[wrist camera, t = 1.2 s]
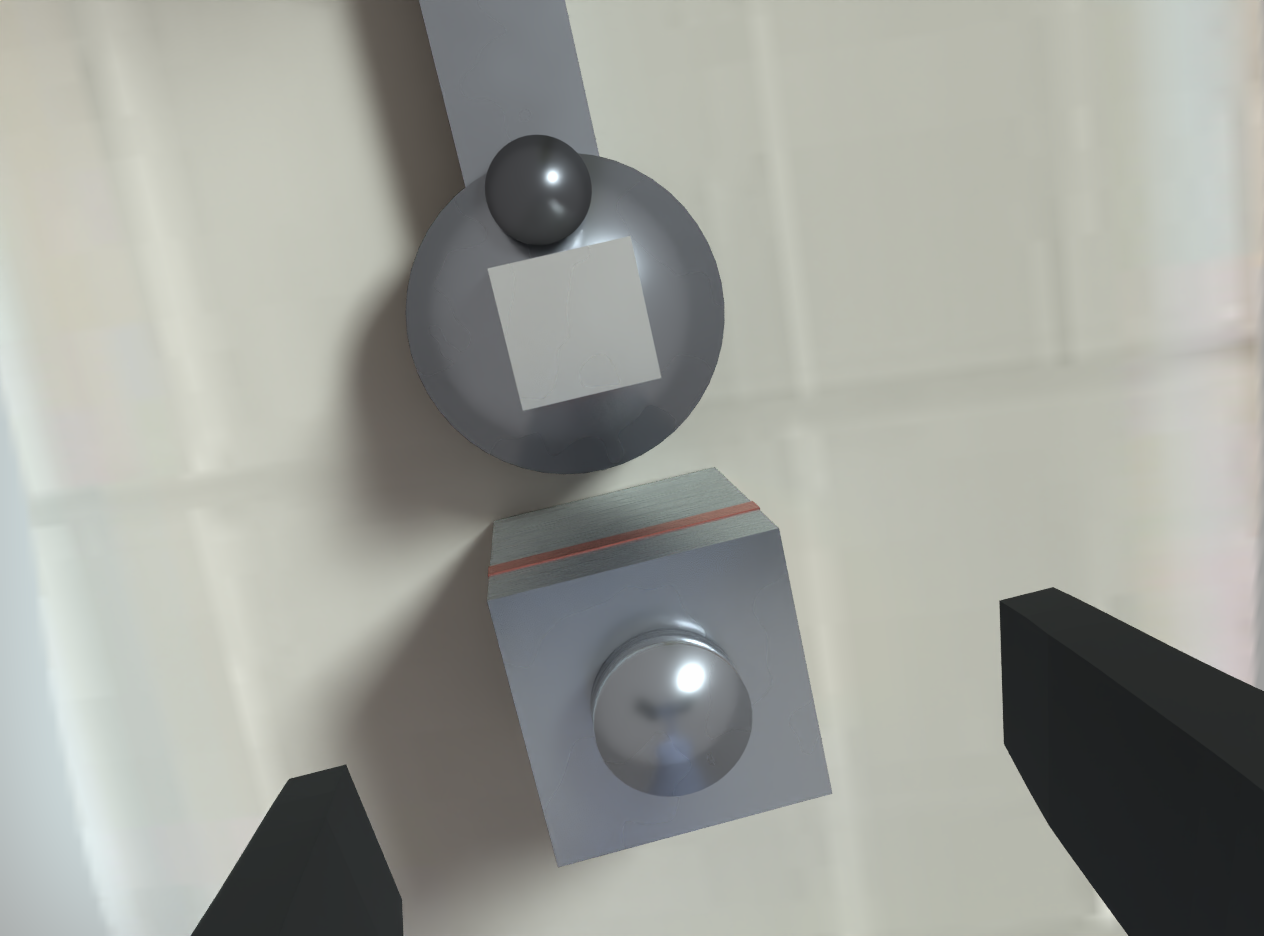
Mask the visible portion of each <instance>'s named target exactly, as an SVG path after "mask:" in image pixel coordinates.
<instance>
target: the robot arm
mask: <svg viewBox="0 0 1264 936" xmlns="http://www.w3.org/2000/svg"><path fill="white" fill-rule="evenodd" d="M1000 631H1001V664H1002V696H1003V729H1004V745H1005V747H1006V748H1007V750H1008V752H1009V754H1010V756H1011V758H1012V760H1013V762H1014V763H1015V765H1016V767H1017V769H1018V771H1019V773H1020V775H1021V776H1022V778H1023V780H1024V782H1025V784H1026V786H1027V788H1028V789H1029V791H1030V793H1031V795H1032V796H1033V798H1034V800H1035V802H1036V804H1037V805H1038V807H1039V809H1040V811H1041V812H1042V814H1043V816H1044V818H1045V819H1046V821H1047V823H1048V825H1049V826H1050V828H1051V829H1052V830H1053V832H1054V833H1055V835H1056V836H1057V837H1058V839H1059V840H1060V842H1061V843H1062V845H1063V846H1064V847H1065V849H1066V850H1067V852H1068V853H1069V854H1070V856H1071V857H1072V859H1073V860H1074V861H1075V863H1076V864H1077V865H1078V867H1079V868H1080V870H1081V871H1082V872H1083V874H1084V875H1085V877H1086V878H1087V879H1088V881H1089V882H1090V884H1091V885H1092V886H1093V888H1094V889H1095V890H1096V892H1097V893H1098V895H1099V896H1100V897H1101V899H1102V900H1103V901H1104V903H1105V904H1106V906H1107V907H1108V908H1109V910H1110V911H1111V912H1112V914H1113V915H1114V916H1115V918H1116V919H1117V921H1118V922H1119V923H1120V925H1121V926H1122V927H1123V929H1124V930H1125V932H1126V933H1127V934H1128V936H1264V691H1262V690H1260V689H1258V688H1255V687H1253V686H1251V685H1249V684H1247V683H1245V682H1243V681H1241V680H1239V679H1236V678H1234V677H1232V676H1230V675H1228V674H1226V673H1224V672H1222V671H1220V670H1218V669H1216V668H1214V667H1212V666H1210V665H1208V664H1205V663H1203V662H1201V661H1199V660H1197V659H1195V658H1193V657H1191V656H1189V655H1187V654H1185V653H1183V652H1181V651H1179V650H1177V649H1175V648H1173V647H1171V646H1169V645H1167V644H1165V643H1163V642H1162V641H1160V640H1158V639H1156V638H1154V637H1152V636H1150V635H1148V634H1146V633H1144V632H1142V631H1140V630H1138V629H1136V628H1134V627H1132V626H1130V625H1128V624H1126V623H1124V622H1122V621H1120V620H1118V619H1116V618H1115V617H1113V616H1111V615H1109V614H1107V613H1105V612H1103V611H1101V610H1099V609H1097V608H1095V607H1093V606H1091V605H1089V604H1087V603H1085V602H1083V601H1081V600H1079V599H1077V598H1075V597H1073V596H1071V595H1069V594H1066V593H1064V592H1062V591H1060V590H1058V589H1056V588H1053V587H1052V588H1048V589H1044V590H1040V591H1036V592H1032V593H1028V594H1024V595H1020V596H1016V597H1012V598H1008V599H1004V600H1000ZM191 936H403V916H402V898H401V896H400V894H399V891H398V889H397V886H396V884H395V882H394V879H393V877H392V874H391V872H390V870H389V867H388V865H387V862H386V860H385V858H384V855H383V853H382V850H381V848H380V845H379V843H378V841H377V838H376V836H375V833H374V831H373V829H372V826H371V824H370V821H369V819H368V817H367V814H366V812H365V809H364V807H363V805H362V802H361V800H360V797H359V795H358V793H357V790H356V788H355V785H354V783H353V780H352V778H351V776H350V773H349V771H348V768H347V766H346V765H343V766H339V767H335V768H331V769H327V770H323V771H319V772H315V773H311V774H307V775H303V776H299V777H295V778H291V779H289V780H288V781H287V783H286V784H285V786H284V787H283V789H282V790H281V792H280V794H279V795H278V797H277V798H276V800H275V801H274V803H273V804H272V806H271V808H270V809H269V811H268V812H267V814H266V816H265V817H264V819H263V821H262V822H261V824H260V826H259V827H258V829H257V830H256V832H255V834H254V835H253V837H252V839H251V840H250V842H249V844H248V845H247V847H246V849H245V850H244V852H243V853H242V855H241V857H240V858H239V860H238V862H237V863H236V865H235V866H234V868H233V870H232V871H231V873H230V875H229V876H228V878H227V879H226V881H225V883H224V884H223V886H222V888H221V889H220V891H219V892H218V894H217V896H216V897H215V899H214V900H213V902H212V903H211V905H210V906H209V908H208V910H207V911H206V913H205V914H204V916H203V917H202V919H201V920H200V922H199V924H198V925H197V927H196V928H195V930H194V931H193V933H192V934H191Z"/></svg>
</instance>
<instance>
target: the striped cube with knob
mask: <svg viewBox="0 0 1264 936" xmlns="http://www.w3.org/2000/svg"><path fill="white" fill-rule="evenodd" d="M488 577H489V585H488V597H487V603H488V606H489V610H490V614H491V618H492V621H493V625H494V629H495V633H496V636H497V640H498V644H499V648H500V651H501V655H502V659H503V663H504V666H505V670H506V674H507V678H508V681H509V685H510V689H511V693H512V696H513V700H514V704H515V708H516V711H517V715H518V719H519V723H520V726H521V730H522V734H523V738H524V741H525V745H526V749H527V753H528V756H529V760H530V764H531V768H532V771H533V775H534V779H535V783H536V786H537V790H538V794H539V798H540V802H541V805H542V809H543V813H544V817H545V820H546V824H547V828H548V832H549V835H550V839H551V843H552V847H553V850H554V854H555V858H556V862H557V865H558V867H561V866H565V865H568V864H572V863H576V862H579V861H583V860H587V859H591V858H594V857H598V856H602V855H606V854H609V853H613V852H617V851H620V850H624V849H628V848H632V847H635V846H639V845H643V844H646V843H650V842H654V841H658V840H661V839H665V838H669V837H672V836H676V835H680V834H684V833H687V832H691V831H695V830H699V829H702V828H706V827H710V826H713V825H717V824H721V823H725V822H728V821H732V820H736V819H739V818H743V817H747V816H751V815H754V814H758V813H762V812H765V811H769V810H773V809H777V808H780V807H784V806H788V805H792V804H795V803H799V802H803V801H806V800H810V799H814V798H818V797H821V796H825V795H829V794H832V790H831V785H830V780H829V775H828V770H827V765H826V760H825V755H824V750H823V745H822V740H821V735H820V730H819V725H818V720H817V715H816V710H815V705H814V700H813V695H812V690H811V685H810V680H809V675H808V670H807V665H806V660H805V655H804V650H803V645H802V640H801V635H800V630H799V626H798V621H797V616H796V611H795V606H794V601H793V596H792V591H791V586H790V581H789V576H788V571H787V566H786V561H785V556H784V551H783V546H782V541H781V536H780V531H779V528H778V527H777V526H776V525H775V524H774V523H773V522H772V521H771V520H770V519H769V518H768V517H767V516H766V515H765V514H764V513H763V512H761V511H760V507H759V506H758V505H757V504H755V503H754V502H753V501H750V500H749V499H748V498H747V497H746V496H745V495H744V494H743V493H742V492H740V491H739V490H738V489H737V488H736V487H735V486H734V485H733V484H732V483H731V482H730V481H729V480H728V479H727V478H726V477H725V476H724V475H723V474H722V473H721V472H720V471H718V470H717V469H716V468H715V467H713V468H709V469H705V470H701V471H697V472H693V473H689V474H685V475H681V476H676V477H672V478H668V479H664V480H660V481H656V482H652V483H648V484H644V485H640V486H636V487H632V488H627V489H623V490H619V491H615V492H611V493H607V494H603V495H599V496H595V497H591V498H587V499H583V500H578V501H574V502H570V503H566V504H562V505H558V506H554V507H550V508H546V509H542V510H538V511H534V512H529V513H525V514H521V515H517V516H513V517H509V518H505V519H501V520H497V521H494V527H493V539H492V550H491V562H490V566H489V567H488Z"/></svg>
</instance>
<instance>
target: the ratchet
mask: <svg viewBox="0 0 1264 936" xmlns="http://www.w3.org/2000/svg"><path fill="white" fill-rule="evenodd" d="M419 3H420V7H421V11H422V15H423V19H424V23H425V27H426V31H427V35H428V39H429V43H430V47H431V51H432V55H433V59H434V63H435V67H436V71H437V75H438V79H439V83H440V87H441V91H442V95H443V99H444V103H445V107H446V111H447V115H448V119H449V123H450V127H451V131H452V135H453V139H454V143H455V147H456V151H457V155H458V159H459V163H460V167H461V171H462V175H463V180H464V184H465V188H464V189H463V190H462V191H461V192H459V193H458V194H457V195H456V196H455V197H454V198H453V199H452V200H451V201H450V202H449V203H448V204H447V205H446V207H445V208H444V209H443V210H442V211H441V212H440V213H439V215H438V216H437V218H436V219H435V221H434V222H433V224H432V225H431V227H430V228H429V229H428V231H427V233H426V235H425V237H424V239H423V241H422V243H421V245H420V247H419V249H418V252H417V255H416V258H415V261H414V264H413V266H412V269H411V274H410V279H409V284H408V289H407V301H406V323H407V335H408V340H409V345H410V350H411V355H412V358H413V361H414V364H415V366H416V369H417V372H418V375H419V377H420V379H421V381H422V383H423V385H424V387H425V389H426V391H427V393H428V395H429V396H430V398H431V399H432V401H433V402H434V404H435V405H436V407H437V408H438V410H439V411H440V412H441V414H442V415H443V416H444V417H445V418H446V419H447V420H448V422H449V423H450V424H451V425H452V426H453V427H454V428H455V429H456V430H457V431H458V432H460V433H461V434H462V435H463V436H464V437H465V438H466V439H467V440H469V441H470V442H472V443H473V444H474V445H476V446H477V447H479V448H480V449H482V450H483V451H485V452H486V453H488V454H490V455H492V456H494V457H496V458H498V459H500V460H502V461H504V462H507V463H510V464H513V465H516V466H519V467H521V468H525V469H530V470H534V471H539V472H544V473H556V474H577V473H588V472H593V471H599V470H604V469H607V468H611V467H614V466H617V465H620V464H623V463H625V462H628V461H630V460H632V459H634V458H636V457H638V456H641V455H642V454H644V453H646V452H647V451H649V450H650V449H652V448H654V447H655V446H657V445H658V444H660V443H661V442H662V441H663V440H664V439H666V438H667V437H668V436H669V435H671V434H672V433H673V432H674V431H675V430H676V429H677V428H678V427H679V426H680V425H681V424H682V423H683V422H684V420H685V419H686V418H687V417H688V416H689V415H690V413H691V412H692V410H693V409H694V408H695V406H696V405H697V404H698V402H699V401H700V399H701V397H702V395H703V394H704V392H705V390H706V388H707V386H708V384H709V383H710V380H711V378H712V375H713V372H714V370H715V367H716V365H717V361H718V357H719V353H720V349H721V345H722V339H723V330H724V298H723V291H722V283H721V279H720V275H719V272H718V268H717V264H716V261H715V259H714V256H713V254H712V251H711V249H710V247H709V244H708V242H707V240H706V238H705V237H704V235H703V233H702V232H701V230H700V228H699V226H698V225H697V223H696V222H695V221H694V219H693V218H692V217H691V215H690V214H689V213H688V211H687V210H686V209H685V207H684V206H683V205H682V204H681V203H680V202H679V201H678V200H677V199H676V198H675V197H674V196H673V195H672V194H671V193H670V192H668V191H667V190H666V189H664V188H663V187H662V186H661V185H659V184H658V183H657V182H655V181H654V180H653V179H651V178H649V177H648V176H646V175H644V174H642V173H641V172H639V171H637V170H636V169H634V168H631V167H629V166H626V165H624V164H622V163H619V162H617V161H614V160H610V159H607V158H603V157H599V153H598V148H597V144H596V139H595V135H594V130H593V126H592V121H591V117H590V112H589V108H588V103H587V99H586V94H585V90H584V85H583V81H582V76H581V71H580V67H579V62H578V58H577V53H576V49H575V44H574V40H573V35H572V31H571V26H570V22H569V17H568V13H567V8H566V4H565V0H419Z"/></svg>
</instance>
